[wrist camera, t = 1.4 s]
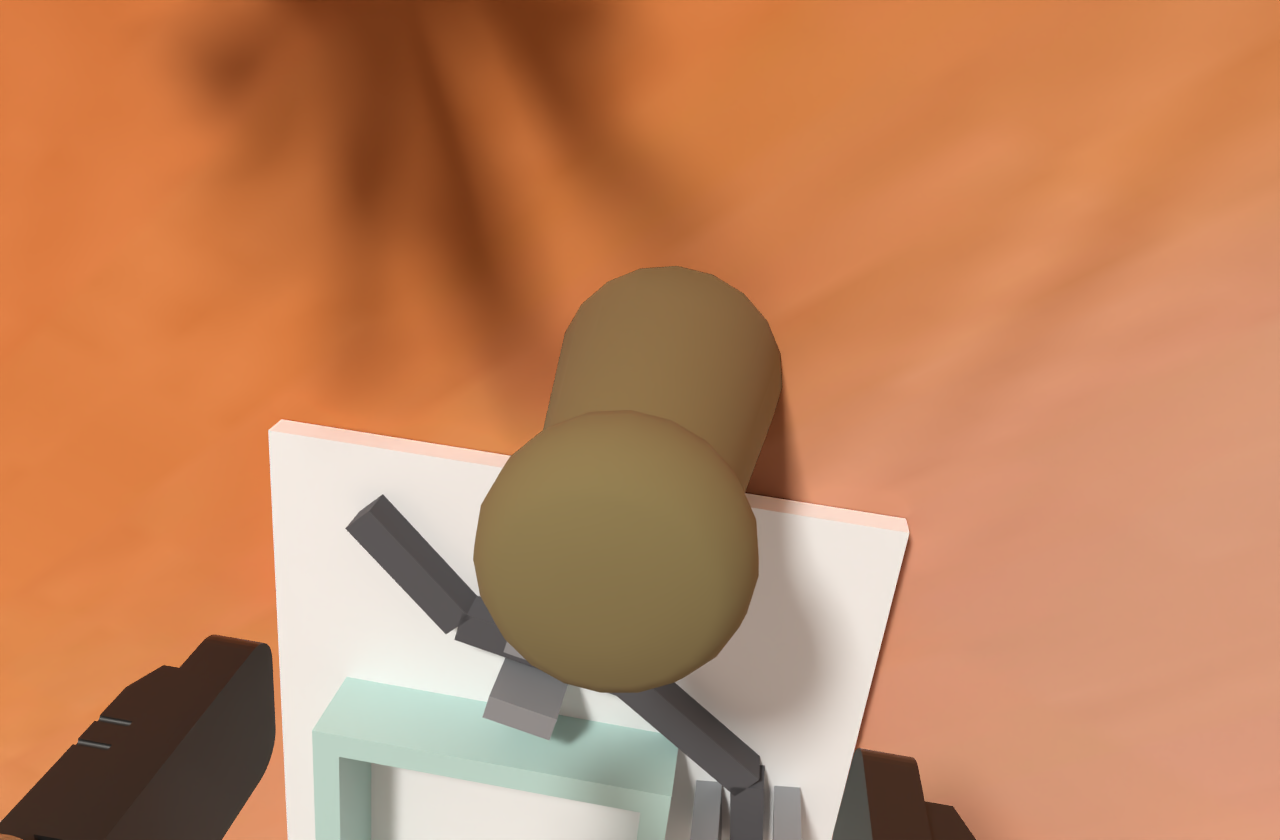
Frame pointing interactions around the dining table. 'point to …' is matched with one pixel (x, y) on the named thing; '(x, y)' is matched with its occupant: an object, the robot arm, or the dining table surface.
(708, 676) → the board
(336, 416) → the dining table surface
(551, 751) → the mint green square frame
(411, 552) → the routed cable
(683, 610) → the cork
